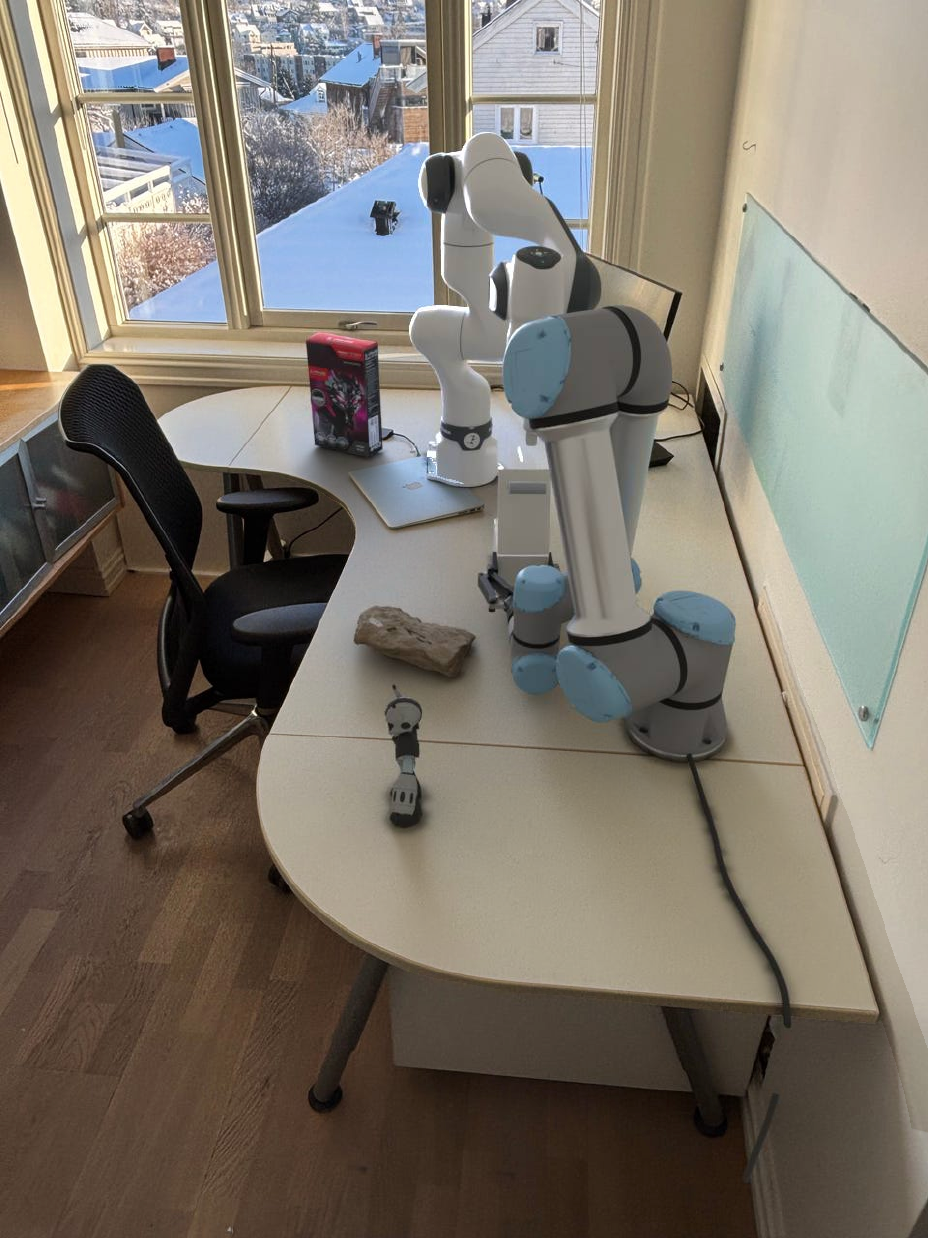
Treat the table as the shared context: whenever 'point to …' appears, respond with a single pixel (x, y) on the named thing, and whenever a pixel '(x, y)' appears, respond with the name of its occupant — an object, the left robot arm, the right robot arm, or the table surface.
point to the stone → (413, 639)
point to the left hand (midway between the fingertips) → (529, 436)
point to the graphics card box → (345, 393)
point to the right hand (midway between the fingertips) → (521, 557)
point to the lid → (524, 511)
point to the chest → (515, 561)
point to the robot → (405, 758)
